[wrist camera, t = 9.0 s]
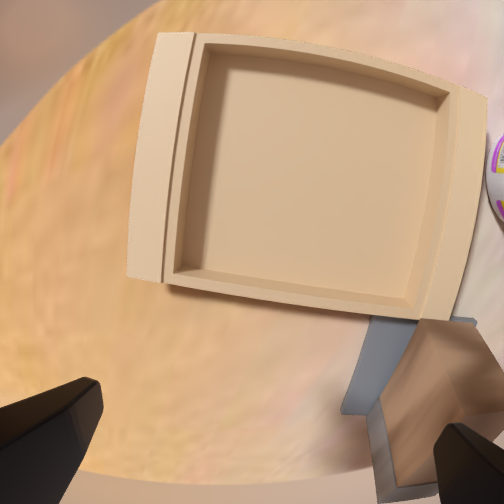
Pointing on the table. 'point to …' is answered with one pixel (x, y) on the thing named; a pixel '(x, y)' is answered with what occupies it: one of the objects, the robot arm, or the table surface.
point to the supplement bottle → (496, 176)
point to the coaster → (380, 360)
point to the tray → (304, 176)
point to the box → (432, 405)
